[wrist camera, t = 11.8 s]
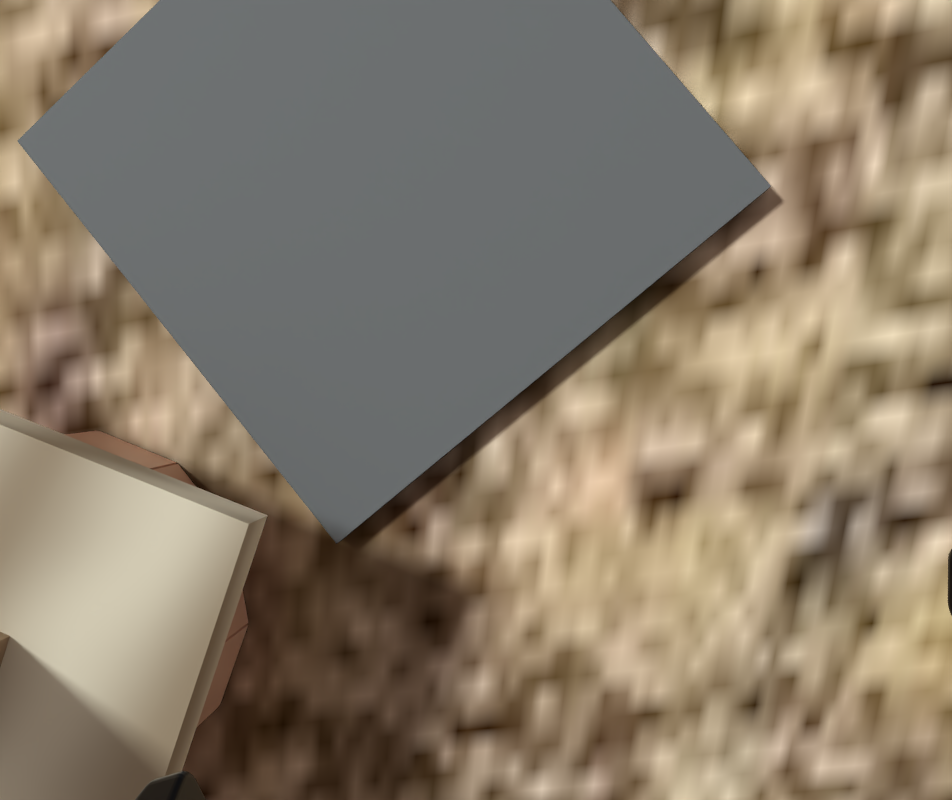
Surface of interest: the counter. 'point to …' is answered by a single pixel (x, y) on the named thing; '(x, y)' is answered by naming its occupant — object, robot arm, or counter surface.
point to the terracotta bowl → (240, 615)
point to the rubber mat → (385, 208)
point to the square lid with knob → (106, 614)
